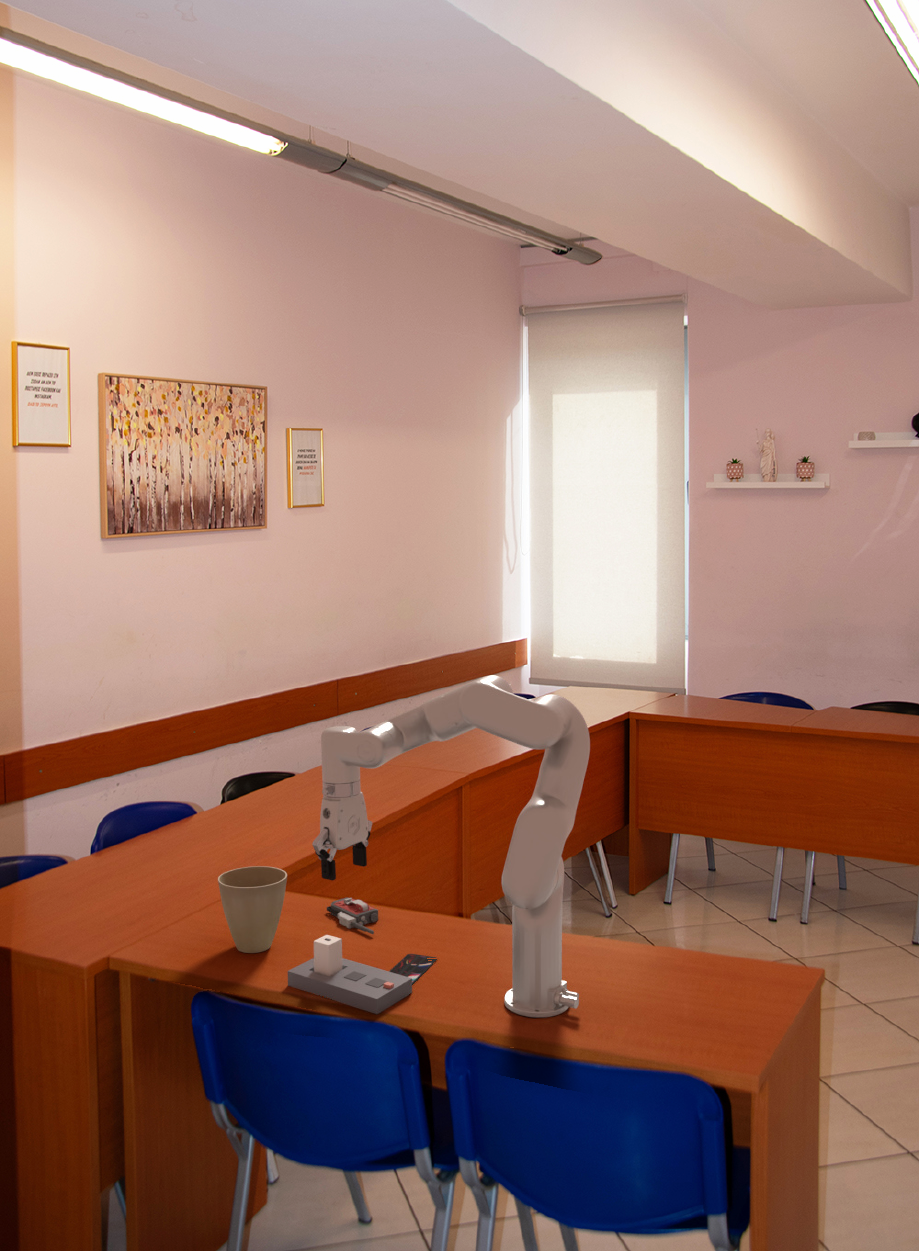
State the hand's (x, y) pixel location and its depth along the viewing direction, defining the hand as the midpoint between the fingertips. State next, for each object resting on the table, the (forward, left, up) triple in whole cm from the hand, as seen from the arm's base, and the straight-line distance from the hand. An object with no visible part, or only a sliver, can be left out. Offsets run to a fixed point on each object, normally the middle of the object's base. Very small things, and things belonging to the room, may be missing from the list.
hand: (344, 871), depth 211 cm
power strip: (-3, +3, -23) cm, 23 cm away
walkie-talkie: (+19, -26, -23) cm, 40 cm away
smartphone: (-7, -11, -23) cm, 27 cm away
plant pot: (+29, -2, -23) cm, 37 cm away
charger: (+3, +3, -23) cm, 23 cm away
